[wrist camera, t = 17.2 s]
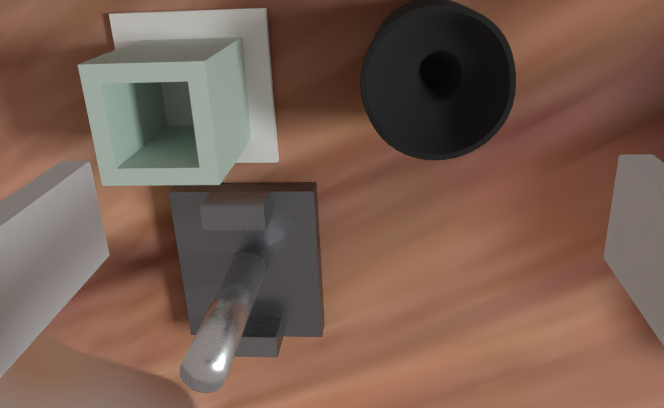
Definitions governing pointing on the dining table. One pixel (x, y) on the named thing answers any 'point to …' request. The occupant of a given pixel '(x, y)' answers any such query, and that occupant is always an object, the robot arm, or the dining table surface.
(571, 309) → the dining table surface
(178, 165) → the sleeve
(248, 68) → the mat
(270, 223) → the block with threaded rod
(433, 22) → the pen holder
